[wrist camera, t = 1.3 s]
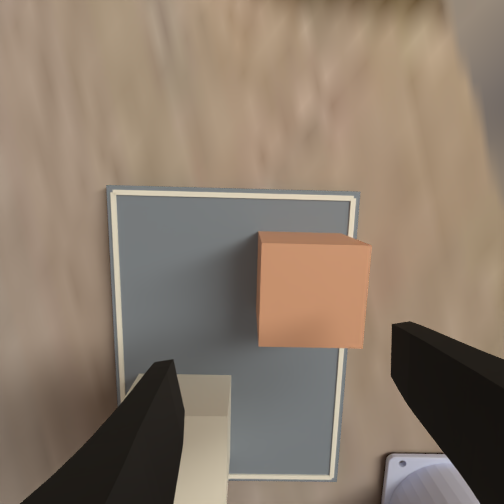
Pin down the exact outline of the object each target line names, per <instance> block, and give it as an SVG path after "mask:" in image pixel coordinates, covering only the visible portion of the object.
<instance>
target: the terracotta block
mask: <svg viewBox="0 0 504 504" xmlns="http://www.w3.org/2000/svg"><path fill="white" fill-rule="evenodd" d="M371 250H372V246H371V245H369V244H366V243H364V242H361V241H359V240H356V239H354V238H351V237H349V236H346V235H344V234H341V233H313V232H271V231H258V259H257V294H256V317H257V331H258V346H259V347H306V348H361V349H363V338H364V327H365V316H366V305H367V294H368V283H369V272H370V261H371Z"/></svg>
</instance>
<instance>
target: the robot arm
mask: <svg viewBox="0 0 504 504" xmlns="http://www.w3.org/2000/svg"><path fill="white" fill-rule="evenodd" d="M391 377H392V379H393V381H394V382H395V384H396V386H397V388H398V390H399V391H400V393H401V395H402V396H403V398H404V400H405V401H406V403H407V405H408V406H409V407H410V409H411V410H412V411H413V413H414V414H415V415H416V417H417V418H418V419H419V421H420V422H421V423H422V425H423V426H424V427H425V429H426V430H427V431H428V433H429V434H430V435H431V436H432V438H433V439H434V440H435V442H436V443H437V444H438V446H439V447H440V448H441V450H442V451H443V452H444V453H445V454H390V455H389V456H388V457H387V459H386V466H385V475H384V484H383V493H382V502H381V504H504V359H501V358H498V357H496V356H493V355H491V354H488V353H486V352H483V351H481V350H478V349H476V348H474V347H471V346H469V345H466V344H464V343H462V342H459V341H457V340H455V339H452V338H450V337H448V336H445V335H443V334H441V333H438V332H436V331H434V330H431V329H429V328H426V327H424V326H421V325H419V324H416V323H413V322H410V321H409V322H403V323H397V324H392V348H391ZM184 419H185V409H184V405H183V400H182V396H181V391H180V387H179V382H178V378H177V373H176V368H175V364H174V359H171V360H164V361H158V362H154V363H153V364H152V365H151V367H150V368H149V369H148V370H147V371H146V373H145V374H144V375H143V376H142V378H141V379H140V380H139V382H138V383H137V384H136V385H135V387H134V388H133V389H132V390H131V392H130V393H129V394H128V395H127V397H126V398H125V399H124V400H123V402H122V403H121V404H120V405H119V406H118V408H117V409H116V410H115V411H114V412H113V414H112V415H111V416H110V417H109V418H108V419H107V420H106V421H105V422H104V424H103V425H102V426H101V427H100V428H99V429H98V430H97V431H96V433H95V434H94V435H93V436H92V437H91V438H90V439H89V440H88V441H87V442H86V443H85V444H84V445H83V446H82V447H81V448H80V449H79V450H78V451H77V452H76V453H75V454H74V455H73V456H72V457H71V458H70V459H69V460H68V461H67V462H66V463H65V464H64V465H63V466H62V467H61V468H60V469H59V470H58V471H57V472H56V473H55V474H54V475H52V476H51V477H50V478H49V479H48V480H47V481H46V482H45V483H43V484H42V485H41V486H40V487H39V488H38V489H37V490H35V491H34V492H33V493H32V494H31V495H30V496H28V497H27V498H26V499H25V500H24V501H23V502H21V503H20V504H174V498H175V492H176V486H177V480H178V474H179V467H180V461H181V455H182V448H183V439H184ZM400 461H402V462H400ZM399 462H400V463H399Z"/></svg>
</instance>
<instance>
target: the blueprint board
mask: <svg viewBox="0 0 504 504" xmlns="http://www.w3.org/2000/svg"><path fill="white" fill-rule="evenodd" d="M106 188H107V208H108V227H109V247H110V266H111V285H112V305H113V324H114V344H115V363H116V382H117V402H118V406H119V405H120V404H121V403H122V402H123V400H124V399H125V398H126V397H127V395H128V394H129V393H130V392H131V390H132V389H133V388H134V387H135V385H136V384H137V383H138V382H139V380H140V379H141V378H142V376H143V375H144V374H145V373H146V371H147V370H148V369H149V368H150V367H151V365H152V364H153V363H154V362H158V361H164V360H171V359H174V364H175V368H176V373H177V378H178V382H179V387H180V391H181V396H182V400H183V405H184V409H185V419H184V439H183V448H182V455H181V461H180V467H179V474H178V480H177V486H176V492H175V498H174V504H227V492H228V481H312V482H337V472H338V460H339V447H340V435H341V423H342V410H343V398H344V386H345V374H346V361H347V349H348V348H306V347H259V346H258V331H257V317H256V294H257V259H258V231H271V232H313V233H341V234H344V235H346V236H349V237H351V238H354V239H357V227H358V214H359V202H360V192H352V191H313V190H275V189H236V188H197V187H159V186H120V185H106Z"/></svg>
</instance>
